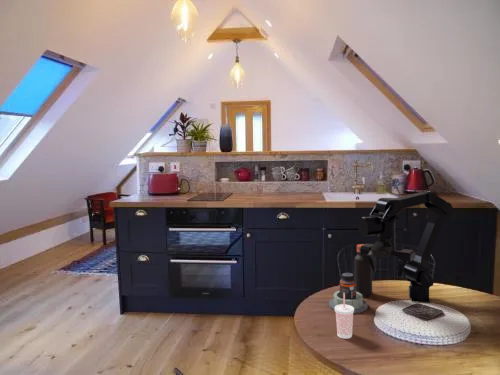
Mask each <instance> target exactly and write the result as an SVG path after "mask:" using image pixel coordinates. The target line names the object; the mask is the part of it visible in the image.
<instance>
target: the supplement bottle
mask: <svg viewBox="0 0 500 375" xmlns="http://www.w3.org/2000/svg"><path fill="white" fill-rule="evenodd" d="M341 275H342V276H341V279H340V280H339V291H340V298H342V299H343V293H345V299H346V300H353V299H356V281H355V276H354V274H353V273H351V272H344V273H342V274H341Z"/></svg>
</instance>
